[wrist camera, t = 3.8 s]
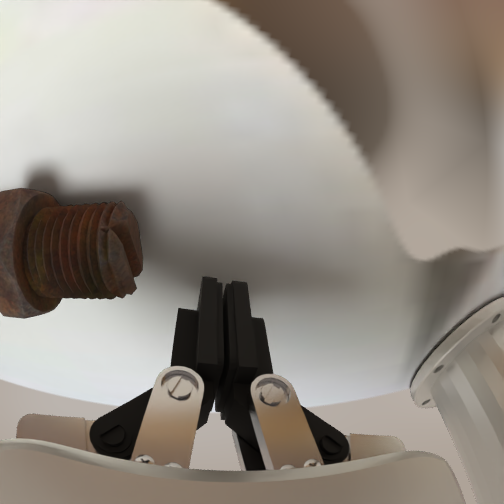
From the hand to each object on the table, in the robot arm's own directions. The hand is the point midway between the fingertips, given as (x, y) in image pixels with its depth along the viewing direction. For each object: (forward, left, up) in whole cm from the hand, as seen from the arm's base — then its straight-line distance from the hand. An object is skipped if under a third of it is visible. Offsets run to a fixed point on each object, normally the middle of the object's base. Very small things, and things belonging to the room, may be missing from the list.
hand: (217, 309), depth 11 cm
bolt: (+11, -1, -2) cm, 11 cm away
